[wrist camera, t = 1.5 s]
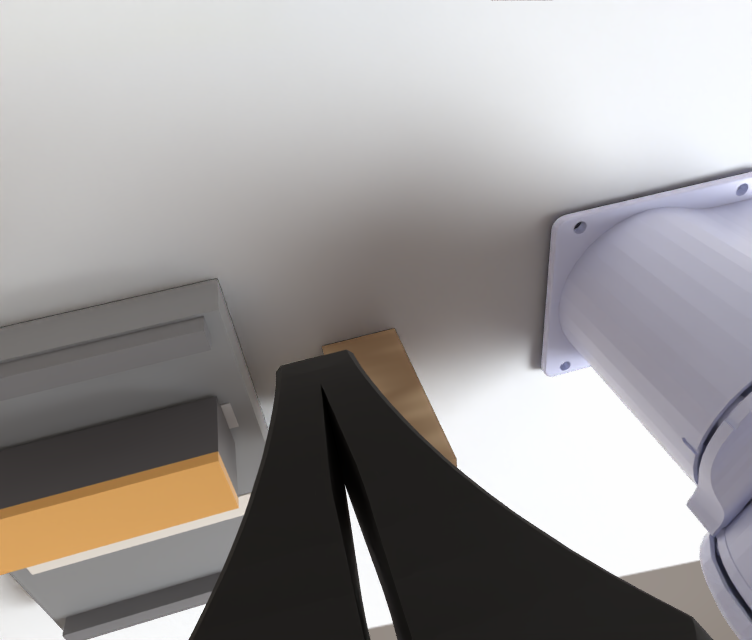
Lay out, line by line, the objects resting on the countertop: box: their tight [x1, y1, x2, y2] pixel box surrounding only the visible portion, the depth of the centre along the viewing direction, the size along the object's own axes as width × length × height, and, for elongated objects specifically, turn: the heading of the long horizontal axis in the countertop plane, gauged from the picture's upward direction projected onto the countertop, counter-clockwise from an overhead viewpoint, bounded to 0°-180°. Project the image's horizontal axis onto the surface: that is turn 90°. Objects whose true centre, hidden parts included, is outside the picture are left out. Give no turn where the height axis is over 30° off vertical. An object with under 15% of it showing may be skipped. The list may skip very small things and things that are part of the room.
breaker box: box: [0, 279, 268, 640], centre depth 22 cm, size 11×15×3 cm
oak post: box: [322, 328, 457, 467], centre depth 21 cm, size 3×3×7 cm
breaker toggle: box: [0, 396, 239, 575], centre depth 19 cm, size 9×2×3 cm, turn 97°
